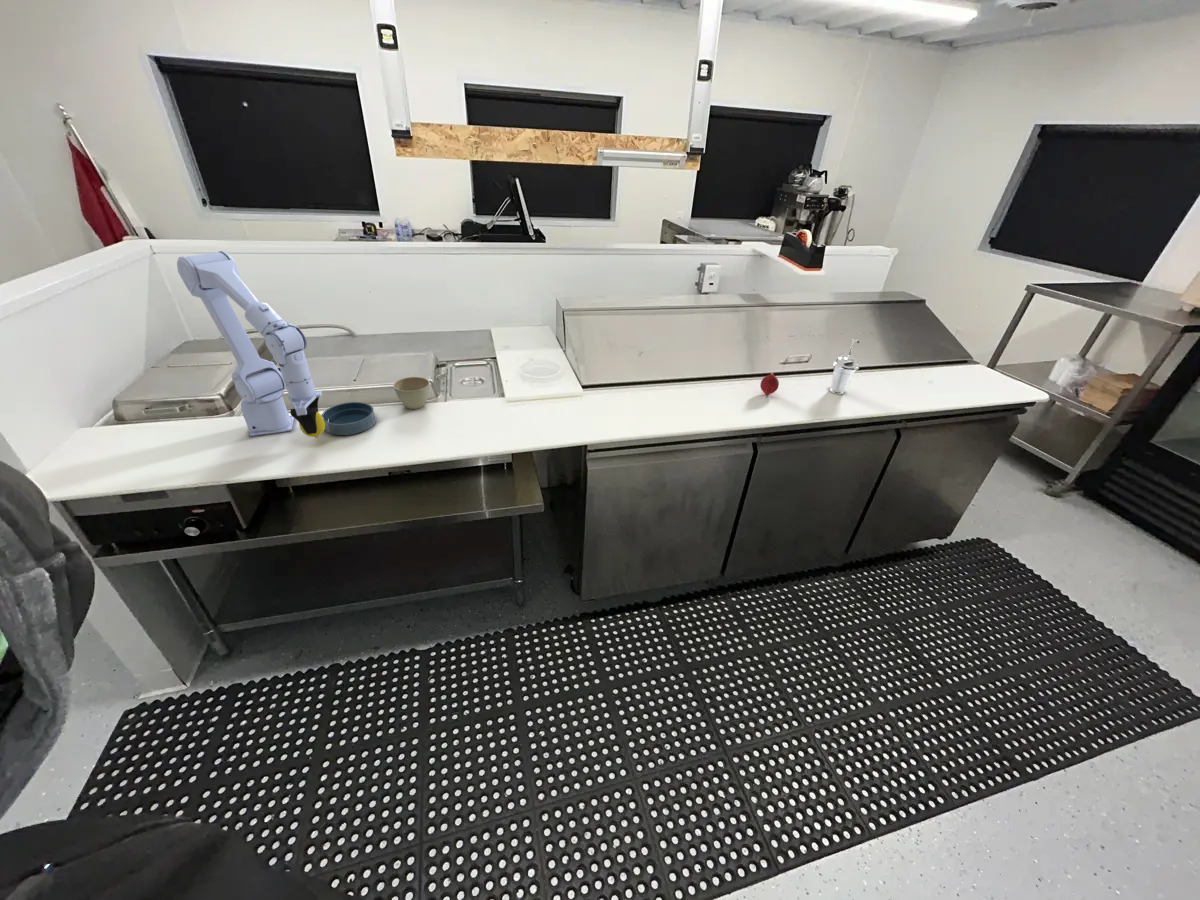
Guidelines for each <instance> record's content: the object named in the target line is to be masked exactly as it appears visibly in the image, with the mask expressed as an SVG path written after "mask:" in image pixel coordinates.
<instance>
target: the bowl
mask: <svg viewBox="0 0 1200 900" xmlns="http://www.w3.org/2000/svg"><path fill="white" fill-rule="evenodd" d="M321 416H322V417H323V419H324V422H325V429H324V431H326V433H329V434H330V435H335V436H350V435H356V434H359V433H362V432H365V431H367V430H369V429H371V428H372V427H373V426H374V425H375V423H376V422H377V416H376V413H375V408H374V407H373V406H372V405H371V404H370V403H367V402H363V401H362V402H361V401H350V402H349V401H348V402H343V403H339V404H336V405H333V406H331V407H328V408H327V409H325V410H324V411H323V412H322V413H321Z"/></svg>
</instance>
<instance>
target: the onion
mask: <svg viewBox="0 0 1200 900" xmlns="http://www.w3.org/2000/svg"><path fill="white" fill-rule="evenodd" d="M779 381H780V380H779V379H778V377H777V376H775V373H774V372H773V371H771V372H770V374H768V375H766V376H764V377H763V378H762V379H761V380H760V386H759V387H760V390H761V391H762V392H763V394H764V395H767V396H769V395H771V394H772V395H773V394H775V392H776V391H777V390H778V389H779V385H780V382H779Z"/></svg>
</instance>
